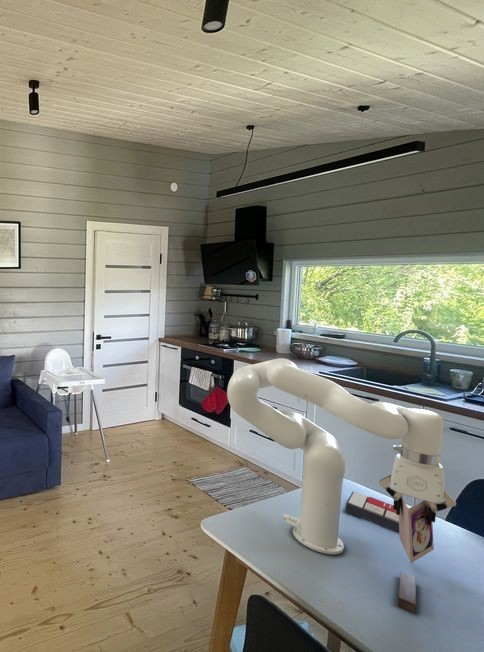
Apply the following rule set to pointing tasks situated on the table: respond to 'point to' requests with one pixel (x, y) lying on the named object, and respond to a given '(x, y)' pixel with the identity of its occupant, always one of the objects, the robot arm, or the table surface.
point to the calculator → (372, 510)
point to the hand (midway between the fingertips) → (413, 517)
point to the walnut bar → (407, 592)
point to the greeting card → (415, 530)
